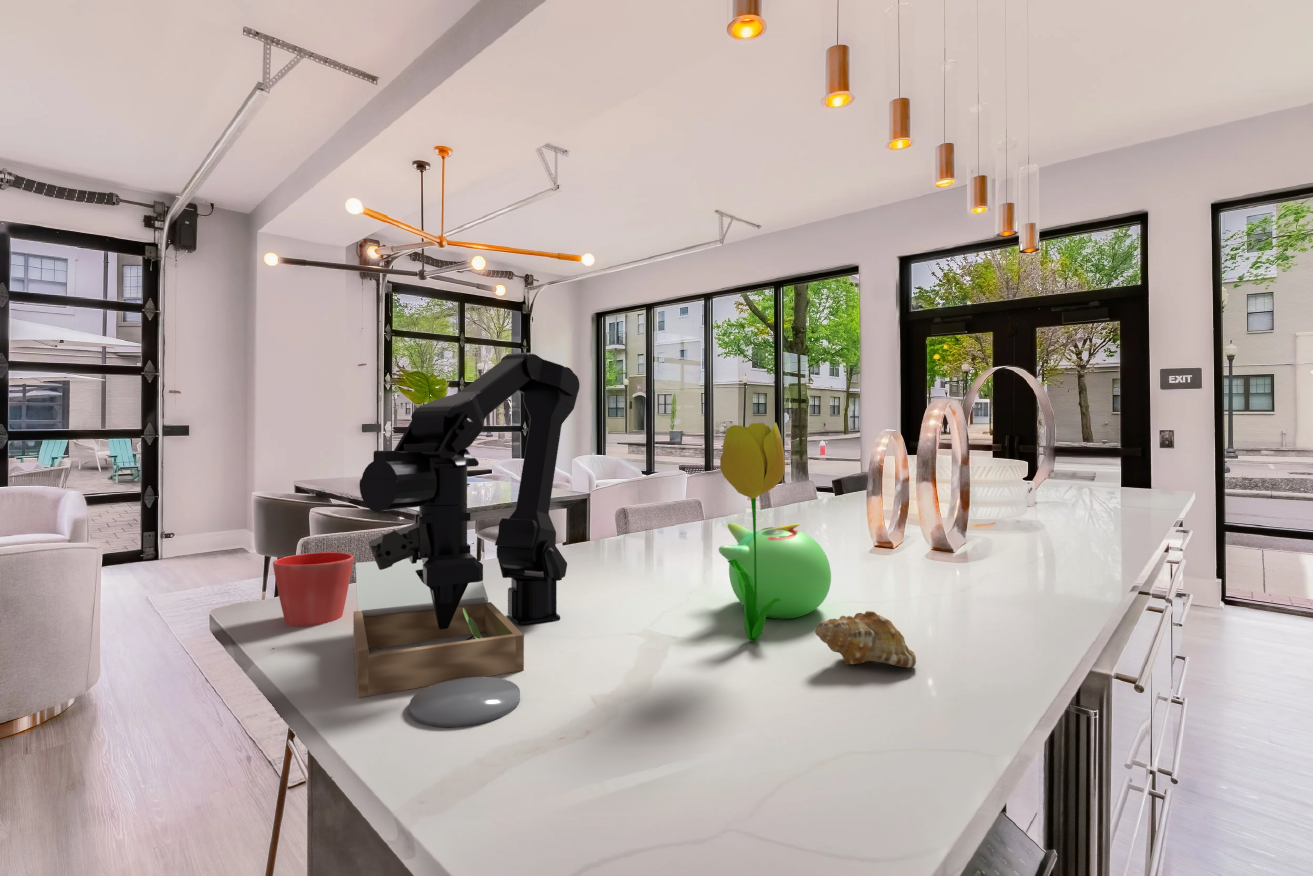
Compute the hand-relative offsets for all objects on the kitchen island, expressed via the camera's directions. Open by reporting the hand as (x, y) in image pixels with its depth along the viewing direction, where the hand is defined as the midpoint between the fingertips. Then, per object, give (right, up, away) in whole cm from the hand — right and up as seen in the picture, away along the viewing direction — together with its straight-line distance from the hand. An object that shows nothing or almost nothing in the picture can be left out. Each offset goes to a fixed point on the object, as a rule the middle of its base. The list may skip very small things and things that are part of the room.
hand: (443, 628), depth 79 cm
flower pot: (-26, -5, +18) cm, 32 cm away
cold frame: (-1, -4, +1) cm, 4 cm away
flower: (+40, -4, +6) cm, 40 cm away
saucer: (+7, -4, -13) cm, 15 cm away
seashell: (+55, -5, -3) cm, 55 cm away
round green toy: (+45, -4, +20) cm, 50 cm away
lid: (-7, -4, +13) cm, 15 cm away
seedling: (-1, -4, -1) cm, 4 cm away
